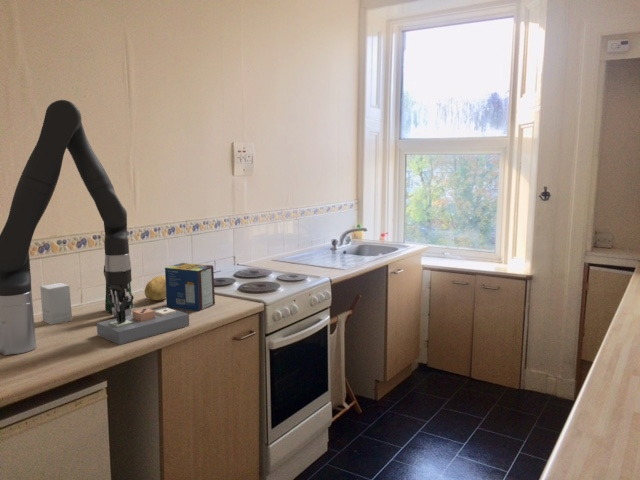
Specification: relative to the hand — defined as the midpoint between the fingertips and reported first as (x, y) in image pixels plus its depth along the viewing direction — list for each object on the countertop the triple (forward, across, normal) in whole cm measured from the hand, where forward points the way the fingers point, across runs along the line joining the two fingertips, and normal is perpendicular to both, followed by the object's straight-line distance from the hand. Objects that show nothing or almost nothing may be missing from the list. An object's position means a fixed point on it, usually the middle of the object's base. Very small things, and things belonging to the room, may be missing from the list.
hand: (121, 321), depth 166 cm
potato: (+5, -32, +33) cm, 46 cm away
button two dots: (+5, 0, 0) cm, 5 cm away
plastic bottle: (+5, -20, +11) cm, 23 cm away
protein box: (+5, -14, +36) cm, 39 cm away
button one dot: (+4, 0, +16) cm, 16 cm away
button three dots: (+3, 0, +8) cm, 8 cm away
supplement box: (+5, -33, -6) cm, 34 cm away
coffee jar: (+5, -29, +15) cm, 33 cm away
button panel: (+5, 0, +8) cm, 9 cm away
